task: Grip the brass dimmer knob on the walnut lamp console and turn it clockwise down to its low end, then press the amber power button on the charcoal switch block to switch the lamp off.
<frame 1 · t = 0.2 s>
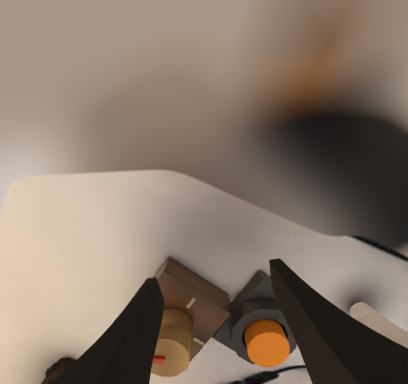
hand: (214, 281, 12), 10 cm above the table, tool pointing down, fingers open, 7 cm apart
dimmer knob: (169, 341, 20), point 5 cm above the table, hinge at 120.0°
dimmer console: (176, 304, 24), on the table
power button: (266, 342, 21), point 4 cm above the table, slide at 0.1 cm
switch block: (256, 312, 25), on the table
lightbulb: (353, 305, 24), on the table
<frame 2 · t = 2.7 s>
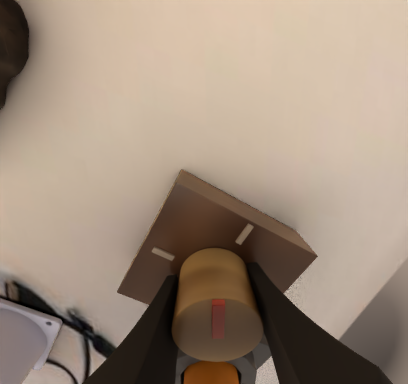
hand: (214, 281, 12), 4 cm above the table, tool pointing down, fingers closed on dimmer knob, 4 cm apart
dimmer knob: (215, 302, 11), point 5 cm above the table, hinge at 120.0°, touching gripper
dimmer console: (211, 247, 15), on the table
switch block: (209, 334, 19), on the table
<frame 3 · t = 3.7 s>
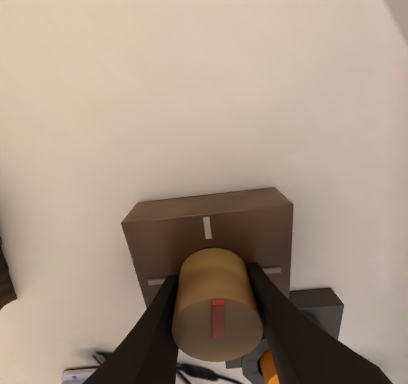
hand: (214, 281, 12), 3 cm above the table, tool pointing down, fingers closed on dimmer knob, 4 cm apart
dimmer knob: (215, 302, 11), point 5 cm above the table, hinge at 84.3°, touching gripper
dimmer console: (211, 247, 15), on the table
power button: (291, 371, 14), point 4 cm above the table, slide at 0.1 cm
switch block: (273, 320, 18), on the table
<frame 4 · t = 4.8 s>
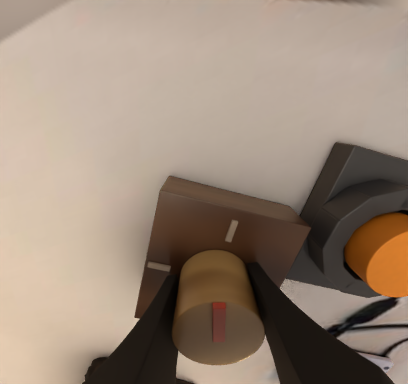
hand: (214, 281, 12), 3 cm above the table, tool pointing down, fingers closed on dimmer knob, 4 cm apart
dimmer knob: (216, 304, 11), point 5 cm above the table, hinge at 16.0°, touching gripper
dimmer console: (212, 248, 15), on the table
power button: (394, 254, 11), point 4 cm above the table, slide at 0.1 cm
switch block: (345, 220, 14), on the table
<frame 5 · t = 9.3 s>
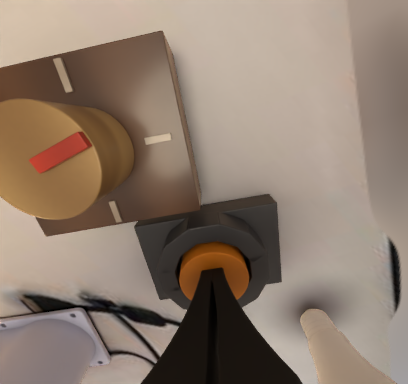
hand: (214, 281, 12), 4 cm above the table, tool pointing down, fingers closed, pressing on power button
dimmer knob: (69, 157, 8), point 5 cm above the table, hinge at 15.5°
dimmer console: (117, 145, 13), on the table
power button: (213, 271, 13), point 3 cm above the table, slide at -0.7 cm, touching gripper
switch block: (211, 243, 16), on the table
lightbulb: (308, 309, 19), on the table
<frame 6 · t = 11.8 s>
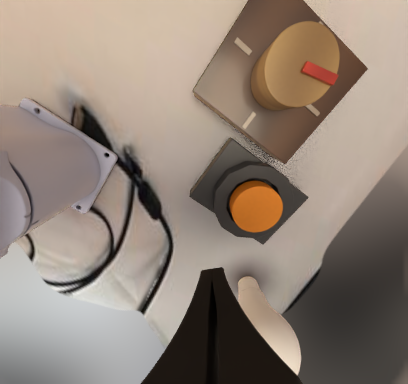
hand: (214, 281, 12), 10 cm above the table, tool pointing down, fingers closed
dimmer knob: (290, 73, 13), point 5 cm above the table, hinge at 15.5°
dimmer console: (266, 86, 18), on the table
power button: (254, 206, 17), point 4 cm above the table, slide at 0.1 cm
switch block: (245, 191, 21), on the table
lightbulb: (245, 278, 25), on the table
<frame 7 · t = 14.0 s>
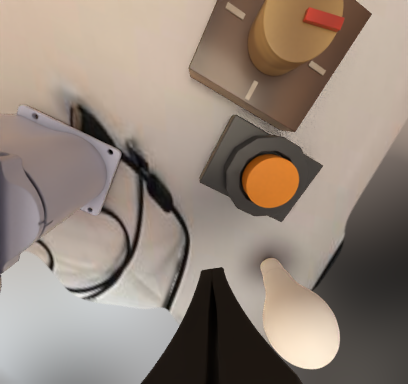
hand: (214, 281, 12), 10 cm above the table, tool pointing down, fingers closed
dimmer knob: (289, 29, 12), point 5 cm above the table, hinge at 15.5°
dimmer console: (264, 54, 17), on the table
power button: (269, 180, 17), point 4 cm above the table, slide at 0.1 cm
switch block: (256, 169, 20), on the table
lightbulb: (267, 260, 25), on the table
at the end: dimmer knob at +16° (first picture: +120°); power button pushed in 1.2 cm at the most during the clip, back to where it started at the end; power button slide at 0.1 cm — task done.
